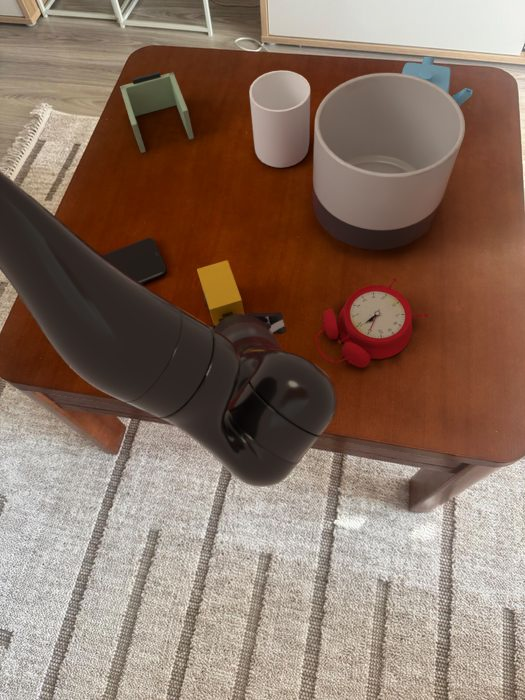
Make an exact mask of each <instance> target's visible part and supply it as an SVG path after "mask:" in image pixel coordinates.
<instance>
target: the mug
mask: <svg viewBox="0 0 525 700" xmlns="http://www.w3.org/2000/svg"><path fill="white" fill-rule="evenodd" d="M248 92H249V104H250V114H251V124H252V126H251V127H252V135H253V145H254V152H255V155H256V156H257V158H258V160H260V162H261V163H263V164H265V165H266V166H270V167H273V168H280V169H281V168H289V167H292V166H295V165H297V164H299V163H300V162H302V160H304V158H306V156H307V154H308V153H309V147H310V127H311V126H310V123H311V86H310V83H309V82H308V80H307V78H305V77H304V76H303V75H301V74H299V73H297V72H294V71H290V70H272V71H269V72H266V73H263V74H262V75H259V76H258V77H257V78H256V79H254V81H253V82H252V83H251V85H250V86H249V91H248Z"/></svg>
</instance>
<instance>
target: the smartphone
mask: <svg viewBox="0 0 525 700" xmlns="http://www.w3.org/2000/svg"><path fill="white" fill-rule="evenodd" d="M101 255H102V256H103V257H105V258H106V259H107V260H108V261H110V262H111V263H112V264H114V265H115V266H116V267H118V268H119V269H121V270H122V271H123V272H125V273H126V274H127V275H129V276H130V277H132V278H133V279H135V280H136V281H138V282H139V283H141V284H142V285H144V284H147V283H149V282H152V281H154V280H157V279H159V278H161V277H164V276H165V275H166V274H167V272H168V268H167V265H166V263H165V260H164V258H163V256H162V253H161V252H160V249H159V246H158V245H157V242H156V240H155V239H154V238H152V237H147V238H143V239H141V240H138V241H136V242H133V243H131V244H128V245H126V246H123V247H120V248H118V249H115V250H113V251H109V252H107V253H104V254H101Z"/></svg>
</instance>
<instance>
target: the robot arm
mask: <svg viewBox="0 0 525 700" xmlns="http://www.w3.org/2000/svg"><path fill="white" fill-rule="evenodd" d="M102 255H103V254H101V253H100V252H99V251H97V250H96V249H95V248H93V247H92V246H91V245H90V244H88V242H86V240H84V239H83V238H81V236H79V235H78V234H77V233H76V232H74V231H73V230H72V229H71V228H69V227H68V226H67V225H66V224H65V223H64V222H63V221H61V220H60V219H59V218H58V217H57V216H55V215H54V214H53V213H52V212H51V211H49V209H47V208H46V207H45V206H43V204H41V203H40V202H39V201H38V200H36V199H35V198H34V197H33V196H32V195H30V194H29V193H28V192H27V191H25V189H23V188H22V187H21V186H20V185H19V184H17V183H16V182H15V181H14V180H13V179H12V178H10V177H9V176H8V175H6V174H5V173H4V172H3V171H2V170H0V272H1V273H2V275H4V277H5V278H6V279H7V281H8V282H9V284H10V285H11V286H12V288H13V289H14V291H15V293H16V294H17V295H18V296H19V298H20V299H21V301H22V302H23V304H24V305H25V308H26V309H27V311H28V312H29V313H30V315H31V316H32V318H33V319H34V321H35V323H36V324H37V326H38V327H39V329H40V330H41V332H42V333H43V335H44V336H45V338H46V339H47V341H48V342H49V344H50V345H51V346H52V348H53V349H54V351H55V352H56V353H57V354H58V355H59V357H60V358H61V359H62V360H63V361H64V362H65V363H66V365H67V366H68V367H69V368H70V369H71V370H72V371H73V372H74V373H75V374H76V375H78V376H79V378H81V379H82V380H83V381H84V382H86V383H87V384H89V385H90V386H92V387H93V388H95V389H97V390H98V391H100V392H101V393H104V394H106V395H108V396H110V397H112V398H114V399H116V400H119V401H121V402H123V403H125V404H128V405H129V406H132V407H134V408H137V409H139V410H141V411H143V412H145V413H148V414H150V415H152V416H155V417H157V418H159V419H161V420H163V421H165V422H167V423H169V424H171V425H172V426H173V427H175V428H177V429H179V430H180V431H181V432H182V433H184V434H186V435H187V436H188V437H190V438H191V439H192V440H194V441H195V442H196V443H197V444H198V445H200V446H201V447H203V448H204V449H205V450H206V451H207V452H208V453H209V454H210V455H211V456H212V457H213V458H214V459H215V460H217V462H218V463H219V464H221V465H222V466H223V468H224V469H226V470H227V471H228V472H229V473H230V475H232V476H233V477H235V478H236V479H237V480H238V481H240V482H241V483H243V484H246V485H249V486H251V487H255V488H256V487H257V488H267V487H268V488H269V487H272V486H275V485H278V484H280V483H281V482H283V481H284V480H285V479H286V478H287V477H289V476H290V474H291V473H292V472H293V470H294V469H295V468H296V466H298V464H299V463H300V462H301V460H302V459H303V458H304V457H305V455H306V454H307V453H308V452H309V450H310V449H311V448H312V447H313V445H314V444H315V443H316V442H317V440H318V439H319V438H320V437H321V435H322V434H323V433H324V431H325V430H326V429H327V428H328V427H329V425H330V424H331V423H332V421H333V419H334V418H335V416H336V414H337V410H338V405H339V395H338V390H337V387H336V385H335V383H334V381H333V379H332V378H331V377H330V375H329V374H328V373H327V372H326V371H325V370H323V368H321V367H320V366H319V365H317V364H316V363H314V362H312V361H311V360H310V359H308V358H305V357H304V356H302V355H299V354H296V353H293V352H290V351H286V350H283V348H282V346H281V344H280V342H279V341H278V339H277V338H276V336H275V335H283V334H285V333H287V327H286V324H285V320H284V316H283V312H280V311H276V312H273V311H272V312H248V313H247V314H245V313H244V314H234V315H233V313H232V312H230V313H227V314H223V315H222V317H223V318H221V319H219V320H218V321H219V323H218V324H217V325H216V326H215V325H214V324H209V325H208V324H207V323H205V322H203V321H202V320H200V319H199V318H197V317H195V316H194V315H192V314H190V313H189V312H187V311H185V310H184V309H183V308H181V307H179V306H178V305H176V304H174V303H172V302H171V301H170V300H168V299H166V298H164V297H162V296H161V295H159V294H158V293H157V292H154V291H153V290H151V289H150V288H148V287H146V286H145V285H144V284H141V283H139V282H138V281H136V280H135V279H133V278H132V277H130V276H129V275H127V274H126V273H125V272H123V271H122V270H121V269H119V268H118V267H116V266H115V265H114V264H112V263H111V262H110V261H108V260H107V259H106V258H105V257H103V256H102Z"/></svg>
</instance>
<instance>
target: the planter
mask: <svg viewBox="0 0 525 700" xmlns="http://www.w3.org/2000/svg"><path fill="white" fill-rule="evenodd" d="M451 96H452V95H450V94H448V93H447V92H446V91H445V90H443V89H442V88H440V87H439V86H437V85H435V84H434V83H432V82H429V81H427V80H425V79H422V78H419V77H415V76H412V75H407V74H401V73H400V72H375V73H369V74H364V75H361V76H357V77H354V78H351V79H349V80H347V81H345V82H343V83H341V84H339V85H338V86H336V87H334V89H332V90H331V91H330V92H329V93H327V95H325V97H324V98H323V99H322V100H321V102H320V104H319V105H318V108H317V109H316V113H315V116H314V132H313V135H314V136H313V164H312V197H311V200H312V201H311V204H312V210H313V212H314V215H315V217H316V220H317V221H318V222H319V224H320V225H321V227H322V228H323V229H324V230H325V231H326V232H327V233H328V234H330V235H331V236H332V237H334V238H335V239H337V240H338V241H340V242H342V243H344V244H346V245H349V246H352V247H355V248H359V249H363V250H364V249H365V250H373V251H375V250H376V251H383V250H385V251H386V250H391V249H396V248H400V247H404V246H406V245H408V244H409V245H410V243H413V242H414V241H416V240H418V239H419V238H421V237H422V236H423V235H425V233H427V232H428V230H429V229H430V228H431V227H432V226H433V224H434V222H435V220H436V218H437V215H438V213H439V211H440V207H441V204H442V202H443V198H444V196H445V193H446V190H447V187H448V184H449V181H450V179H451V175H452V173H453V169H454V167H455V164H456V161H457V158H458V155H459V152H460V150H461V146H462V144H463V141H464V139H465V138H464V137H465V133H466V122H465V116H464V114H463V110H462V109H461V107H460V106H459V105H458V104H457V103H456V101H455V100H454V99H453V98H452V97H451Z"/></svg>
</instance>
